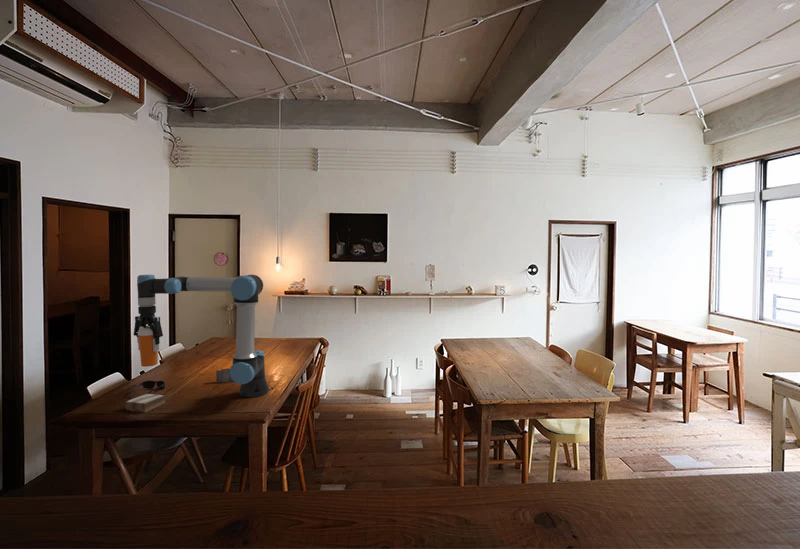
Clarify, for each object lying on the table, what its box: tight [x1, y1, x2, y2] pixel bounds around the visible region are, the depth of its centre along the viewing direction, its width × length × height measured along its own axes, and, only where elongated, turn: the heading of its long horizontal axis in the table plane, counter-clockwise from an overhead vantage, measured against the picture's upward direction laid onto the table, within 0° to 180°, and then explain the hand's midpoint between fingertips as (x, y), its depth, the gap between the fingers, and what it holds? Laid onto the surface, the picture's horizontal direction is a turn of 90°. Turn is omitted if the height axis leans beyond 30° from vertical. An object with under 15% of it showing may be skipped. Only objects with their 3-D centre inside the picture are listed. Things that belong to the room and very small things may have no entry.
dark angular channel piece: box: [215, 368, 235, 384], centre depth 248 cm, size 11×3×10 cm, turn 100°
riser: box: [124, 393, 166, 413], centre depth 209 cm, size 12×12×4 cm
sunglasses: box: [129, 380, 166, 399], centre depth 231 cm, size 14×16×5 cm
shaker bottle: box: [138, 324, 159, 367], centre depth 209 cm, size 9×9×20 cm
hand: (148, 350), depth 209 cm, fingers closed on shaker bottle, 9 cm apart
